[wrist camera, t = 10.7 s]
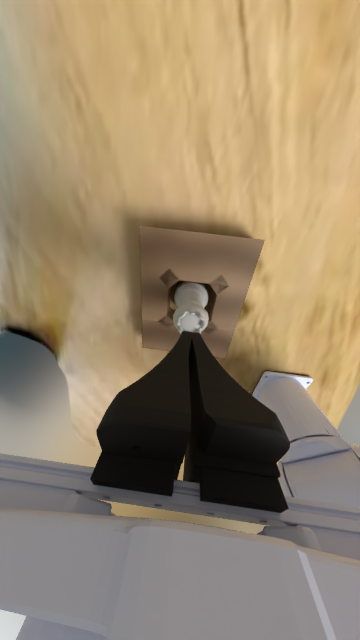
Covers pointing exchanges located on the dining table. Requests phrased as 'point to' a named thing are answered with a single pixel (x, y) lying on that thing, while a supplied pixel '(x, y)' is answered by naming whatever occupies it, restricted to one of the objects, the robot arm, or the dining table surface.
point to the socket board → (196, 266)
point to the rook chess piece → (191, 307)
